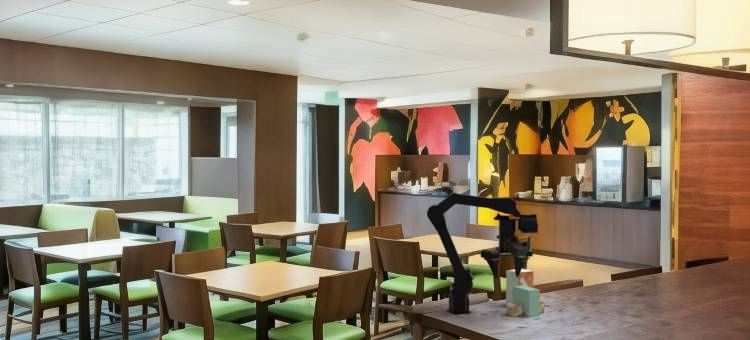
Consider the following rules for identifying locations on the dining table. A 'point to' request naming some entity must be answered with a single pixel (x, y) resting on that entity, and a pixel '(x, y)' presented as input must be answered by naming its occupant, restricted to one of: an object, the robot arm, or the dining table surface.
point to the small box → (517, 281)
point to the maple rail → (516, 308)
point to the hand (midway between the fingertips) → (506, 277)
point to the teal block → (527, 299)
